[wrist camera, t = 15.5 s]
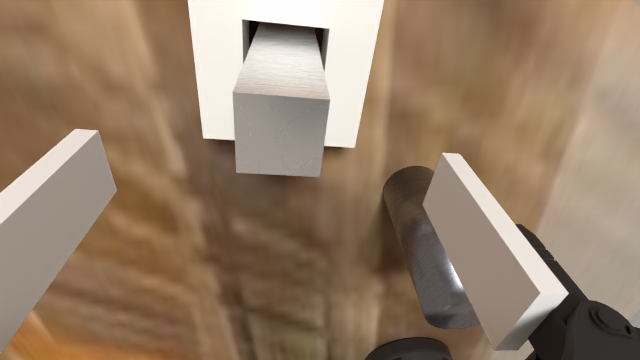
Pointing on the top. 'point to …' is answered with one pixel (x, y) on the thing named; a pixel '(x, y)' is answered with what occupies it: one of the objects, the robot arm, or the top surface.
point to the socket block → (296, 9)
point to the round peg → (426, 251)
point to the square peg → (281, 103)
